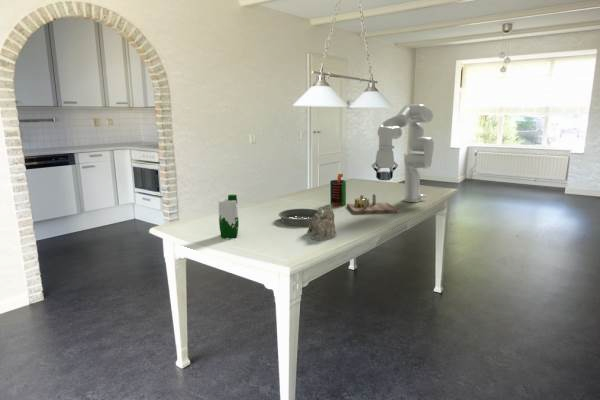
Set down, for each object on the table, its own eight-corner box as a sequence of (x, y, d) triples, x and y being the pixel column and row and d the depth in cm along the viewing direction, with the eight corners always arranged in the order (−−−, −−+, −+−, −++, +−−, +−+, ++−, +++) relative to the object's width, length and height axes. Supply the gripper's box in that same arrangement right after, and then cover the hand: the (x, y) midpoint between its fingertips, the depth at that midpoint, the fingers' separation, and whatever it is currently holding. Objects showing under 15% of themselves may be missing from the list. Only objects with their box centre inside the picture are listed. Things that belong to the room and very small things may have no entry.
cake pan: (269, 220, 227) (269, 213, 226) (303, 214, 243) (303, 206, 242) (298, 229, 209) (298, 221, 208) (332, 221, 224) (332, 213, 223)
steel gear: (388, 178, 246) (388, 171, 245) (391, 180, 239) (392, 172, 238) (377, 179, 245) (377, 171, 244) (380, 180, 238) (380, 172, 237)
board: (387, 205, 261) (387, 192, 259) (397, 212, 242) (397, 198, 240) (346, 207, 259) (347, 193, 257) (353, 214, 239) (354, 200, 238)
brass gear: (367, 203, 258) (367, 197, 257) (370, 206, 249) (370, 200, 248) (353, 204, 257) (353, 198, 256) (356, 207, 249) (356, 200, 248)
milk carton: (238, 238, 194) (236, 196, 190) (219, 239, 194) (216, 197, 190) (239, 233, 203) (238, 193, 199) (221, 233, 202) (219, 194, 198)
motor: (328, 205, 265) (328, 174, 261) (333, 202, 273) (334, 172, 269) (343, 206, 260) (343, 175, 256) (348, 204, 268) (348, 173, 264)
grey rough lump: (316, 228, 209) (316, 200, 205) (343, 235, 198) (343, 205, 194) (296, 237, 198) (295, 207, 194) (322, 245, 187) (322, 213, 183)
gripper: (397, 147, 243) (396, 177, 246) (368, 148, 241) (368, 178, 245) (402, 148, 236) (400, 179, 239) (372, 148, 234) (371, 179, 237)
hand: (384, 178), depth 242 cm, fingers closed on steel gear, 6 cm apart
